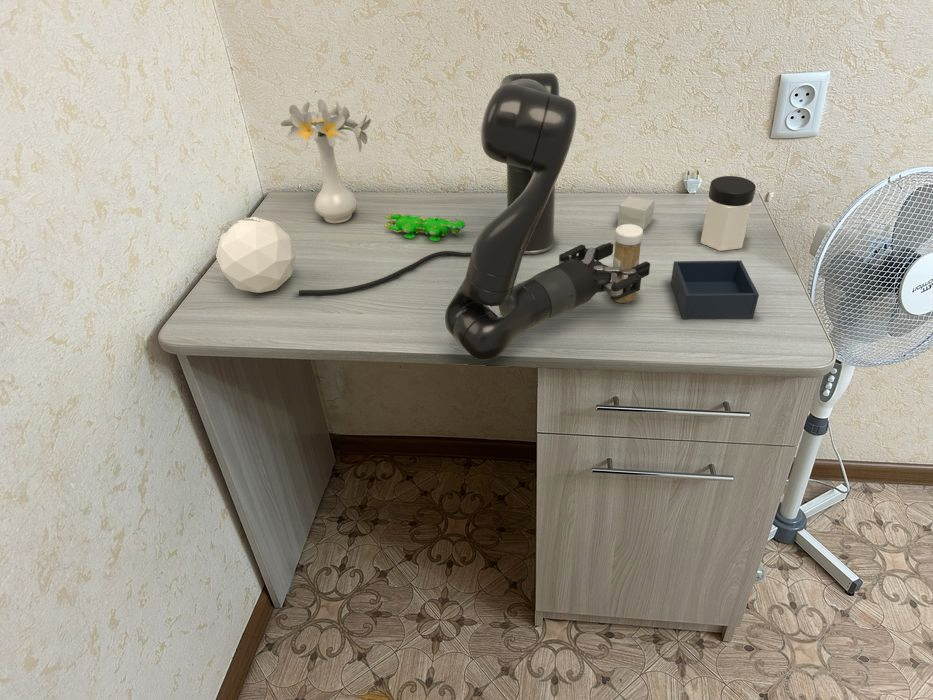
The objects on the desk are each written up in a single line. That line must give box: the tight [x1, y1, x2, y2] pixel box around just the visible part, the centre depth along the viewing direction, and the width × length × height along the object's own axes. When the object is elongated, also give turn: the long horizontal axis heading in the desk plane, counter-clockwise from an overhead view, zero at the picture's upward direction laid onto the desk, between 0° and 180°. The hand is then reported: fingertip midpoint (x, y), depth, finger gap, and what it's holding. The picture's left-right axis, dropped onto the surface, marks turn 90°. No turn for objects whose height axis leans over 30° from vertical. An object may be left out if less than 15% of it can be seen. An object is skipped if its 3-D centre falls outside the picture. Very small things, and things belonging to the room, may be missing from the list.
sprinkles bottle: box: [609, 224, 644, 304], centre depth 118 cm, size 5×5×14 cm
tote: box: [670, 259, 760, 320], centre depth 119 cm, size 12×11×5 cm
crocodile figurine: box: [383, 213, 467, 242], centre depth 144 cm, size 7×18×4 cm, turn 74°
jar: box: [700, 175, 757, 252], centre depth 133 cm, size 9×8×12 cm
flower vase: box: [280, 98, 372, 224], centre depth 146 cm, size 13×18×25 cm
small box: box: [617, 195, 655, 231], centre depth 143 cm, size 6×6×5 cm
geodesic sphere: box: [215, 215, 297, 294], centre depth 127 cm, size 15×14×14 cm
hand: (629, 257), depth 118 cm, fingers open, 8 cm apart
